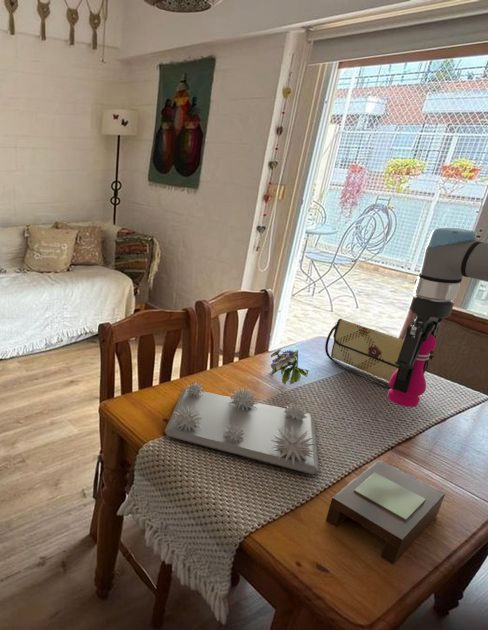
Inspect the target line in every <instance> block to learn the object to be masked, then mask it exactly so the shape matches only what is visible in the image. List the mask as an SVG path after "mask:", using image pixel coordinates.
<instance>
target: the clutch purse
mask: <svg viewBox="0 0 488 630" xmlns="http://www.w3.org/2000/svg"><path fill="white" fill-rule="evenodd" d="M332 334H333V343H332V348H331V354H329V342H330V339H331V337H332ZM403 342H404V339H403V338H399V337H396V336H393V335H390V334H387V333H385V332H381V331H378V330H375V329H372V328H371V327H366V326H363V325H360V324H357V323H355V322H351V321H349V320H346V319H343V318H339V319H338V320H337V321H336V322H335V324H334V326H333V327H332V328H331V330H330V331H329V333H328V335H327V337H326V340H325V344H324V350H325V354H326V356H327V357H328V359H329V360H330V361H331V362H333V363H334V364H335V365H337V366H338V367H340V368H341V369H343V370H345V371H347V372H349V373H350V374H353V375H355V376H356V377H358V376H360V377H363V378H365V379H367V380H370V381H372V382H373V383H372V382H371V383H372V384H374V383H375V384H374V385H377V386H380V387H383V388H386V389H388V390H390V389H391V387H390V386H388V385H386V384H382V383H380V382H377V381H374V380H371V379H370V378H367V377H365V376H363V375H361V374H359V373H357V372H354V371H353V370H351V369H349V368H347V367H345V366H344V365H342V364H341V363H344V364H347V365H349V366H351V367H353V368H356V369H358V370H361V371H363V372H365V373H368V374H370V375H373V376H375V377H378V378H380V379H382V380H385V381H387V382H389V380H390V377H391V376H392V375H393V373H394V372H395V371H397V370H398V369H399V365H396V364H395V362H397V360H398V357H399V354H400V351H401V348H402V345H403ZM337 361H339V362H341V363H339V362H337ZM428 367H429V360H428V361H427V364H426V368H425V371H424V374H425V373H426V372H427V369H428ZM360 377H359V378H360ZM365 379H364V380H365ZM367 380H366V381H367Z"/></svg>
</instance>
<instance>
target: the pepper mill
mask: <svg viewBox="0 0 488 630" xmlns="http://www.w3.org/2000/svg"><path fill="white" fill-rule="evenodd" d="M421 338H424V337H421ZM404 339H405V337H404V338H403V340H404ZM436 346H437V340H436V339H435V337H434V336H433V335H432V334H430V335H429V338H428V340H427V341H426V342H423V343H422V346H421V349H420V352H419V354H418V356H417V358H416V361H415V363H414V365H413V368H414V371H413V374H412V377H411V381H410V384H409V387H408V391H407V393H403V392H400V391H397V390H395V389H393V386H394V382H395V379H396V375H397V372H398V370H397V371H395V372H394V373H393V375H392V376H391V377H390V380H389V381H388V385H389V387H391V389H388V392H387V396H386V398H387V399H388V400H389V401H390V402H392V403H393V404H396V405H398V406H402V407H407V408H408V407H409V408H415V407H417V406H418V405H419V403H420V401H421V400H420V399H421V398H420V396H422V395H423V394H424V393H425V392H426V388H427V381H426V378H425V373H424V374H423V367H424V363H425V361H426V360H428V361H429V360H430V359H429V356H430V355H431V354H430V353H429V352H430V351H432V350H434V351H435V349H436Z"/></svg>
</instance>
